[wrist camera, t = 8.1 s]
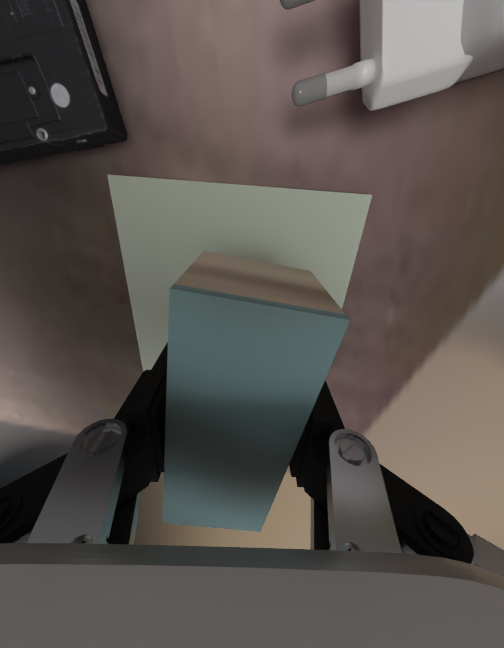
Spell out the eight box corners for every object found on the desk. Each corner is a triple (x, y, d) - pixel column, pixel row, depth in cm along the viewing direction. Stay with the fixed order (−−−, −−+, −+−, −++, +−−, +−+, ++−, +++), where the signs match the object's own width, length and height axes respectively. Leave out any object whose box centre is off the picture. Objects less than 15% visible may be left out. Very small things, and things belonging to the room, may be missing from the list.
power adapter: (285, 149, 12) (311, 114, 7) (265, 14, 10) (282, -173, 5) (516, 81, 11) (742, -17, 6) (550, -87, 9) (945, -458, 4)
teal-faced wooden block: (204, 250, 9) (169, 288, 5) (310, 270, 9) (350, 319, 5) (186, 433, 13) (162, 522, 10) (258, 442, 14) (260, 531, 10)
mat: (149, 387, 20) (146, 392, 19) (113, 175, 13) (107, 174, 12) (316, 394, 20) (318, 399, 20) (367, 195, 13) (372, 194, 13)
